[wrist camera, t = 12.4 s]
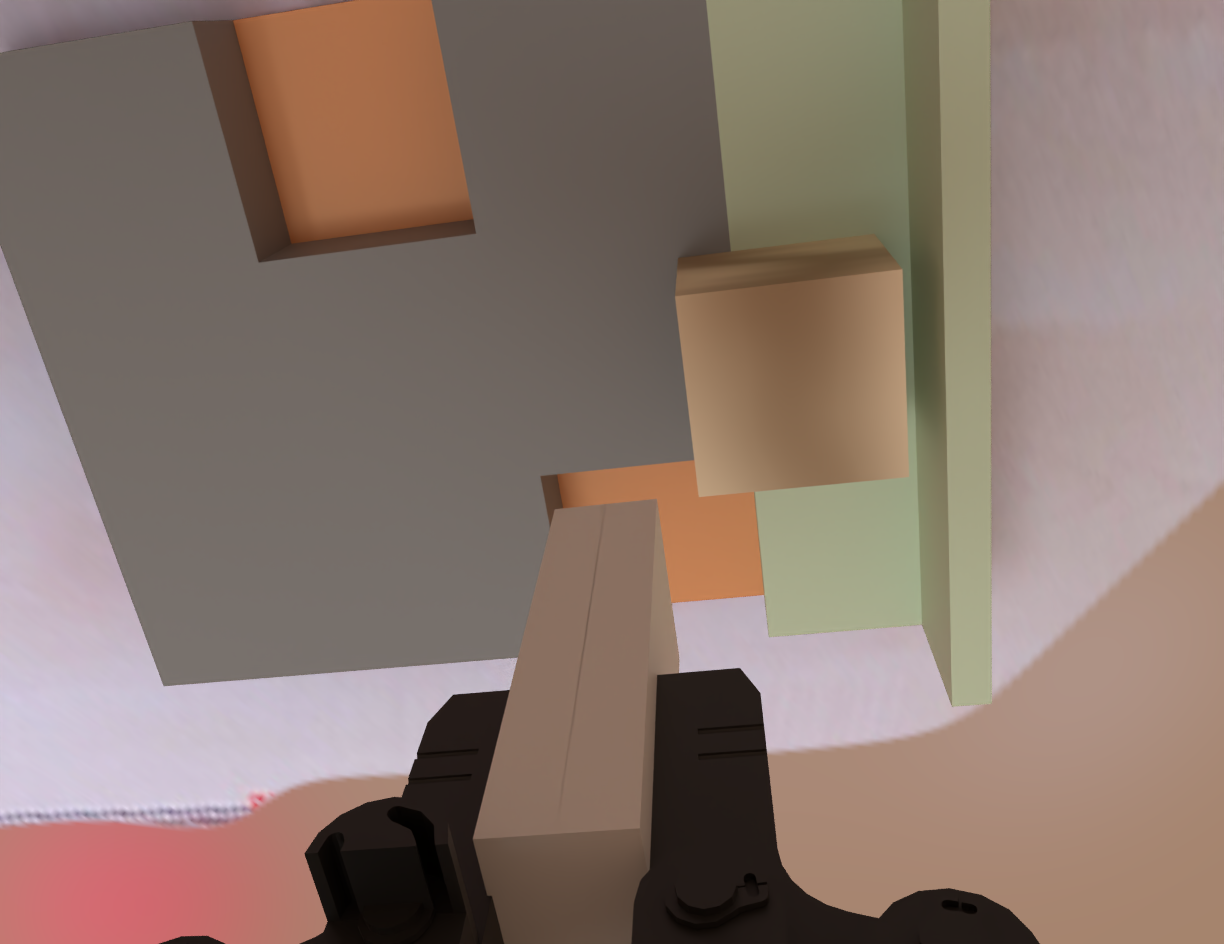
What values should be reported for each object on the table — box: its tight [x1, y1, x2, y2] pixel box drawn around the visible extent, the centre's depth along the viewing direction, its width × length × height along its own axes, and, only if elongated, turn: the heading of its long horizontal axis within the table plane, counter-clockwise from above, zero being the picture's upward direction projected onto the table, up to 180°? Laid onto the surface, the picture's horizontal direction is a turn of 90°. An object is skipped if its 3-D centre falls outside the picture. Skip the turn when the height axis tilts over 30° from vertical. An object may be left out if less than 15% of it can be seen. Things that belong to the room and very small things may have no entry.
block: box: [675, 234, 909, 497], centre depth 26 cm, size 5×5×4 cm
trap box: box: [0, 0, 992, 707], centre depth 28 cm, size 25×19×7 cm
